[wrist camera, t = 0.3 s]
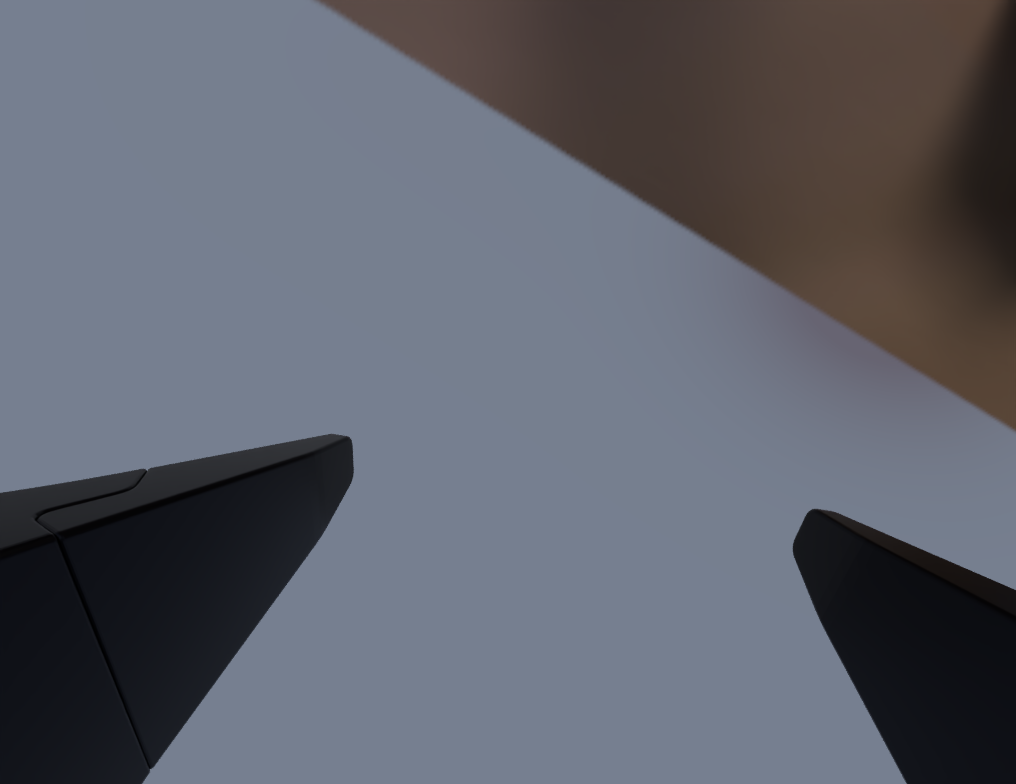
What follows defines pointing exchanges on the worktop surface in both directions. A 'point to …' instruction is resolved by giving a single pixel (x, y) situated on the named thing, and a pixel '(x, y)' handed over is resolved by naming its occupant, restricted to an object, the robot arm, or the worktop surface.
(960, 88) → the worktop surface
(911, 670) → the robot arm
